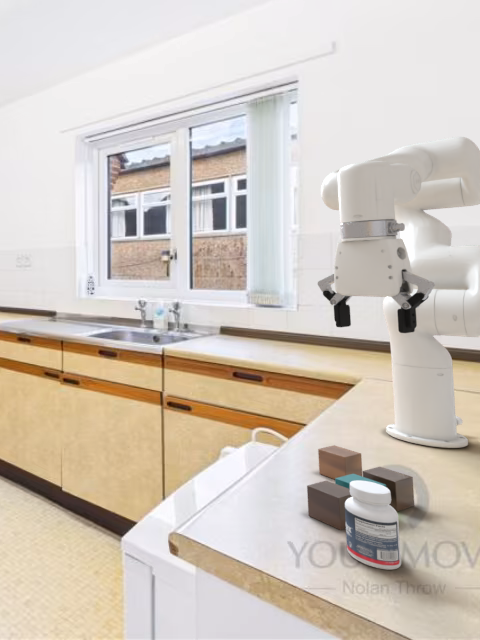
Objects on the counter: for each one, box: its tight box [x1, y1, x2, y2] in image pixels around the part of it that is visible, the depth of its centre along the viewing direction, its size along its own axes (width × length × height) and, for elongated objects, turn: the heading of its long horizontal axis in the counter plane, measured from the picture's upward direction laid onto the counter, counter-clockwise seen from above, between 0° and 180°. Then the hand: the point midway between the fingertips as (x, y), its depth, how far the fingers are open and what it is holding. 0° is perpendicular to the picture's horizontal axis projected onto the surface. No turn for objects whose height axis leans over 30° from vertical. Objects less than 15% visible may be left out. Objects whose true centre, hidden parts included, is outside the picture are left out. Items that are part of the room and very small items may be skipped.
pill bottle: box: [345, 480, 402, 571], centre depth 60 cm, size 5×5×9 cm
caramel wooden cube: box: [317, 444, 363, 480], centre depth 84 cm, size 4×4×4 cm
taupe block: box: [362, 466, 415, 512], centre depth 75 cm, size 4×4×4 cm
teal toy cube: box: [334, 474, 386, 489], centre depth 72 cm, size 4×4×4 cm
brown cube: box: [306, 480, 352, 531], centre depth 70 cm, size 4×4×4 cm
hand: (373, 329), depth 84 cm, fingers open, 9 cm apart
